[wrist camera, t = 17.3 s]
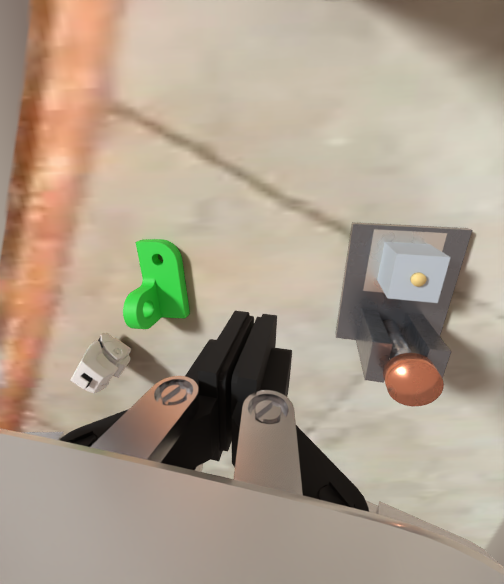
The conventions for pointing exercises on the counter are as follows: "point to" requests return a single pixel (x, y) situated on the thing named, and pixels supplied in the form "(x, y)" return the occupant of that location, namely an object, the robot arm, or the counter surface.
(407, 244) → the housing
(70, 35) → the counter surface
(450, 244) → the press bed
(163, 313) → the mechanical part
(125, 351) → the grey blocky fitting
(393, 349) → the ram
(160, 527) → the robot arm
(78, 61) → the counter surface
